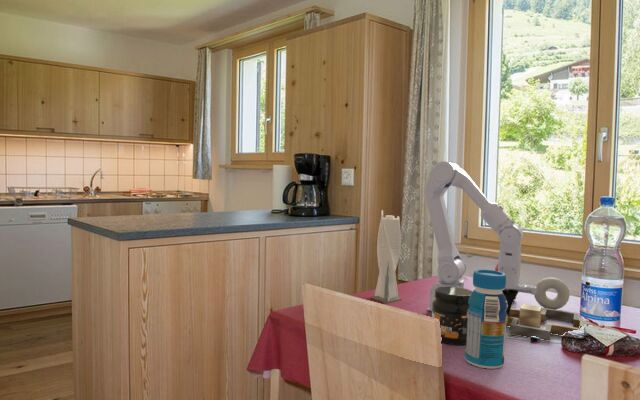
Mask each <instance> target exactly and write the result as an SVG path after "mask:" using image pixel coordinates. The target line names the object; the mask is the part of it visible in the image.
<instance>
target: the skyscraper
mask: <svg viewBox="0 0 640 400" xmlns="http://www.w3.org/2000/svg"><path fill="white" fill-rule="evenodd" d="M401 231H402V230H401V221H400V216H399V215H397V217H395V215H392V214H390V215H389V214H388V215H385V217H384V210H383V209H382V210H381V214H380V221H379V226H378V231H377V232H378V233H377V241H376V242H377V243H376V254H377V255H376V257H377V265H378V270H379V273H378V276H377V277H378V278H377V283H376V287H375V292H374V295H372V296H370V298H371V299H374V300H375V301H379V302H382V303H386V304H388V303H393V302H398V301H402V300H403V298H402V297H399V293H398V284H397V275H396V270H397V267H398V265H399V260H400V255H401V247H402V246H401V245H402V233H401Z"/></svg>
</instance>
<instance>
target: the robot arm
mask: <svg viewBox="0 0 640 400" xmlns="http://www.w3.org/2000/svg"><path fill="white" fill-rule="evenodd" d="M451 186H452V187H454V188H458V189H461V190H462V191H463V192H464V193H465V194H466V195H467V196H468V198H470V199H471V201H472V202H474V203H475V205H476V206H477V207H478V208H479V209H480V217H481V218H482V220H483V221H484V222H485V223H486V224H487V226H488V227H489V228H490V229H491V231H493V232H494V233H495V234H497V239H498V242H499V243H500V244H499V245H500V247H499V251H498V262H499V264H498V263H497V265H498V271H499V272H502V273H504V274H506V286H505V289H504V290H502V292H503V294H504V295H505V297H506V300H507V303H508V308H507V309H506V313H507V315H508V316H509V313H510V309H511V308H512V306H513V304H514V301H515V300H516V299H515V297H516V298H517V296H518V295H519V293H522V294H523V293H524V294H529V295H530V294H531V295H532V296H534V295H536V287H535V286H536V285H530V284H529V285H528V284H525V283H520V275H521V272H520V271H521V260H522V252H521V250H522V243H521V241H523V238H524V232H523V229H522V228H521V226H520V225H519V224H516V220H514V219H511V217H510V216H509V215H508V214H507V213H506V212H505V211H504V210H505V207H504V205H501V204H500V205H499V203H498V202H491V201H490V200H489V199H488V198H487V196H486V195H485V194H484V192H482V190H481V189H480V188H479V186H478V185H477V184H476V183H475V181H474V180H473V179H472V178H471V176H470V175H469V174H468V173H467V172H466V171H465V170H464V169H463V168H461V167H460V166H459V164H458V163H456V162H454V161H439V162H437V163H436V164H434V166H433V167H432V169H430V171H429V172H428V180H427V183H426V186H425V188H424V189H425V190H424V197H425V200H426V205H427V208H428V212H429V218H430V222H431V225H432V229H433V232H434V234H433V235H434V237H435V243H436V245H437V250H438V253H437V263H438V265H437V266H438V267H437V270H436V272H437V277H438V281H437V282H436V283H434V284H433V285H432V286H431V287H430V291H429V292H430V293H429V307H427V309H426V310H427V311H430V312H432V302H433V300H434V299H435V289H436V288H438V287H447V286H448V287H460V288H464V285H465V280H464V279H463V276H464V274H465V273H466V270H467V265H466V263H465V260H464V259H463V258H462V257H461V255H460V252H459V250H458V248H457V247H456V243H455V239H454V234H453V231H452V227H451V226H452V225H451V222H450V218H449V214H448V209H447V205H446V202H445V198H444V197H445V196H444V195H445V193H446V192H447V190H448V189H449V188H450V187H451ZM514 299H515V300H514Z"/></svg>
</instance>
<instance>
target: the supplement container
mask: <svg viewBox="0 0 640 400" xmlns="http://www.w3.org/2000/svg"><path fill="white" fill-rule="evenodd" d="M473 291H474V290H471V289H467V288H460V287H448V286H447V287H438V288H436V289H435V299H434V300H433V302H432V311H431V318H432V317H434V318H437V319H439V321H440V328H441V337H442V342H441V343H444V344H449V345H456V346H457V345H466V342H467V322H468V318H467V310H468V309H469V303H468V300H469V297H470V295H471V293H472V292H473Z"/></svg>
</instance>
